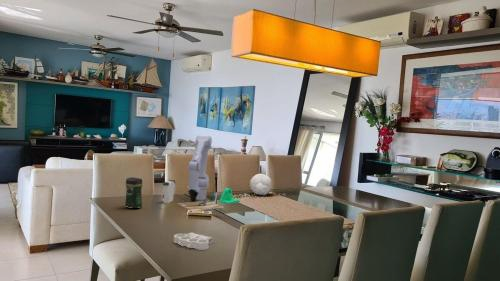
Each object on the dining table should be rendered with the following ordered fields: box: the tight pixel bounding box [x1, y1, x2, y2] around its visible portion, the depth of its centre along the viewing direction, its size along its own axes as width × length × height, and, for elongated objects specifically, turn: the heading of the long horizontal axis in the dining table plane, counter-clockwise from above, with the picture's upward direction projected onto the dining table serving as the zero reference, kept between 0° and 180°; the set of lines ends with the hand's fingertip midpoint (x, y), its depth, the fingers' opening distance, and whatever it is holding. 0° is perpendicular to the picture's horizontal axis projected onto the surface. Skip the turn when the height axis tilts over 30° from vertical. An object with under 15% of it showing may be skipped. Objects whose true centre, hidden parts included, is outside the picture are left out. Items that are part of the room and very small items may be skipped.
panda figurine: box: [162, 179, 176, 204], centre depth 248 cm, size 12×11×15 cm
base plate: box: [176, 197, 223, 212], centre depth 242 cm, size 21×22×4 cm
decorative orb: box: [249, 173, 272, 196], centre depth 292 cm, size 20×18×16 cm
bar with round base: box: [186, 200, 206, 206], centre depth 241 cm, size 5×12×2 cm, turn 125°
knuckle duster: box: [173, 232, 214, 251], centre depth 173 cm, size 3×18×15 cm
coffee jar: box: [124, 177, 143, 208], centre depth 234 cm, size 10×8×19 cm
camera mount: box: [219, 187, 241, 205], centre depth 257 cm, size 12×8×10 cm, turn 139°
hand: (193, 201), depth 244 cm, fingers closed
